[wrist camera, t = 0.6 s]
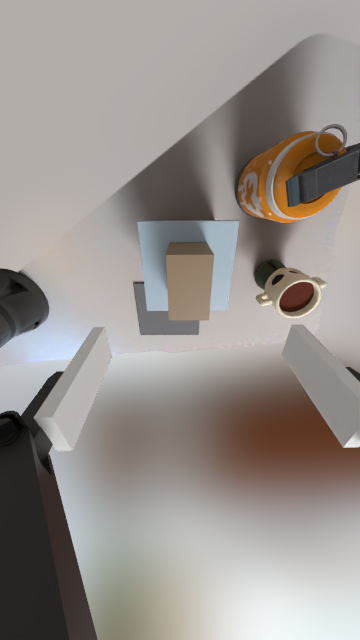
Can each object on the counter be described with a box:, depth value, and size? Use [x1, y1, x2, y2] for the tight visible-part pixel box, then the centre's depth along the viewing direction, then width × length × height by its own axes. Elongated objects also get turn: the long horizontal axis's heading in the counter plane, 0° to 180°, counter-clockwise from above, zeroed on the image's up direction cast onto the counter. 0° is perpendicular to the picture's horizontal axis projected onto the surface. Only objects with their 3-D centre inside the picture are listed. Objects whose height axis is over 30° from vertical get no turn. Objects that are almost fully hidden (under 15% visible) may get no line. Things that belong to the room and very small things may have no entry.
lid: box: [137, 220, 239, 320], centre depth 26 cm, size 13×13×9 cm
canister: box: [236, 124, 360, 223], centre depth 26 cm, size 9×11×20 cm
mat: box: [134, 283, 199, 335], centre depth 47 cm, size 15×14×1 cm
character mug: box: [255, 260, 327, 318], centre depth 37 cm, size 11×7×13 cm, turn 111°
